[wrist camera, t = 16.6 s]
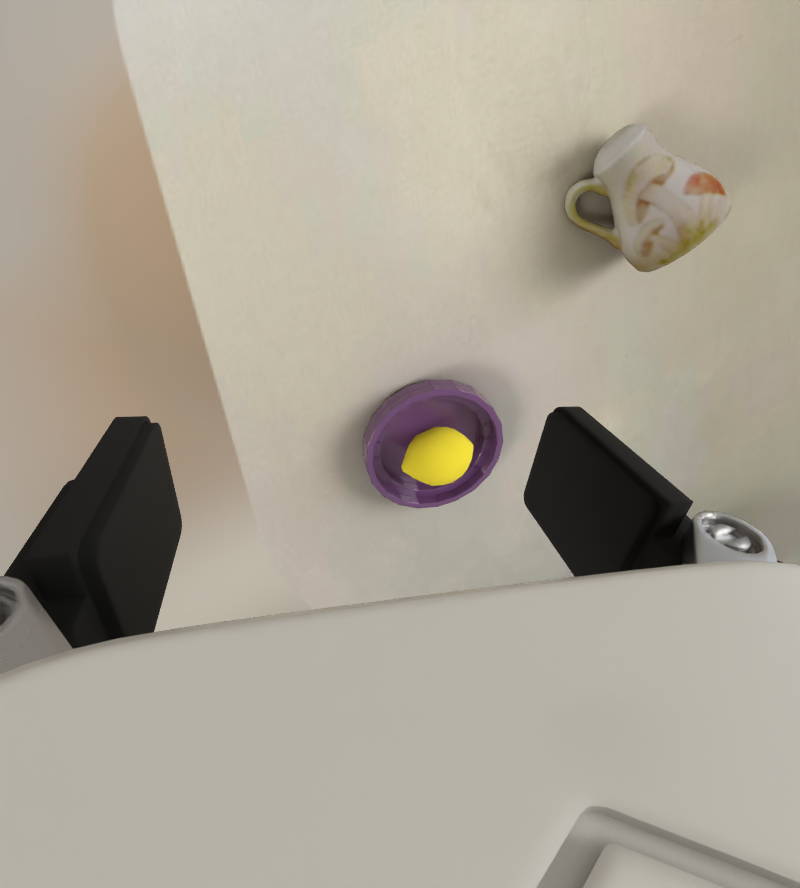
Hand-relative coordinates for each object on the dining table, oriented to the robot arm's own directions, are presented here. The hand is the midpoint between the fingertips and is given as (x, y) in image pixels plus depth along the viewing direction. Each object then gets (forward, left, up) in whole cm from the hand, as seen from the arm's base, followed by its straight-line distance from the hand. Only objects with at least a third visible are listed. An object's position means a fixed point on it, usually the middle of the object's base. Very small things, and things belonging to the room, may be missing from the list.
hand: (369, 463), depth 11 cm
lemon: (+11, -16, -26) cm, 32 cm away
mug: (+24, +6, -26) cm, 36 cm away
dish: (+11, -16, -26) cm, 33 cm away
